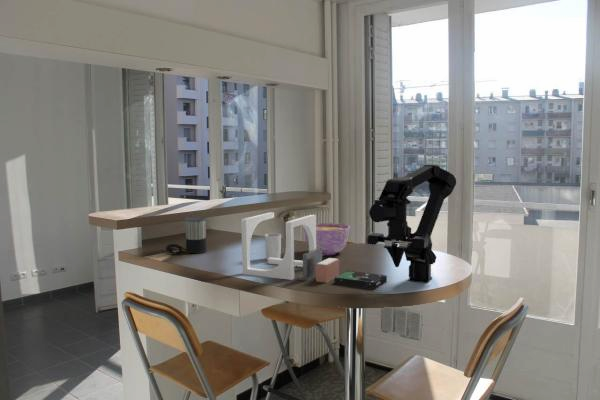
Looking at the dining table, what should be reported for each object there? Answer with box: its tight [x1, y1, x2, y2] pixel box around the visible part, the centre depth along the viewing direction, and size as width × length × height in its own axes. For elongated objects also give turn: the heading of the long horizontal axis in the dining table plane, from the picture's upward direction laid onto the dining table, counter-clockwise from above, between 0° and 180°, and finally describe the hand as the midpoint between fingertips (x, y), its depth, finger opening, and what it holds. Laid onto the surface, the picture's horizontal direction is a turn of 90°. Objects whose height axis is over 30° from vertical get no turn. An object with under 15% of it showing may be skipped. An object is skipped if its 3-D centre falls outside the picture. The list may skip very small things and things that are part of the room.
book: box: [315, 257, 340, 284], centre depth 175 cm, size 4×10×6 cm, turn 152°
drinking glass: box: [264, 232, 282, 261], centre depth 206 cm, size 7×7×10 cm
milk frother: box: [165, 216, 208, 255], centre depth 221 cm, size 14×16×15 cm
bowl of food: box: [302, 222, 351, 256], centre depth 216 cm, size 20×20×12 cm
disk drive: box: [333, 270, 388, 290], centre depth 170 cm, size 10×3×15 cm
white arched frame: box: [240, 211, 317, 281], centre depth 187 cm, size 20×20×20 cm
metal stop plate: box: [297, 248, 323, 282], centre depth 178 cm, size 4×12×9 cm, turn 152°
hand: (397, 266), depth 163 cm, fingers closed
